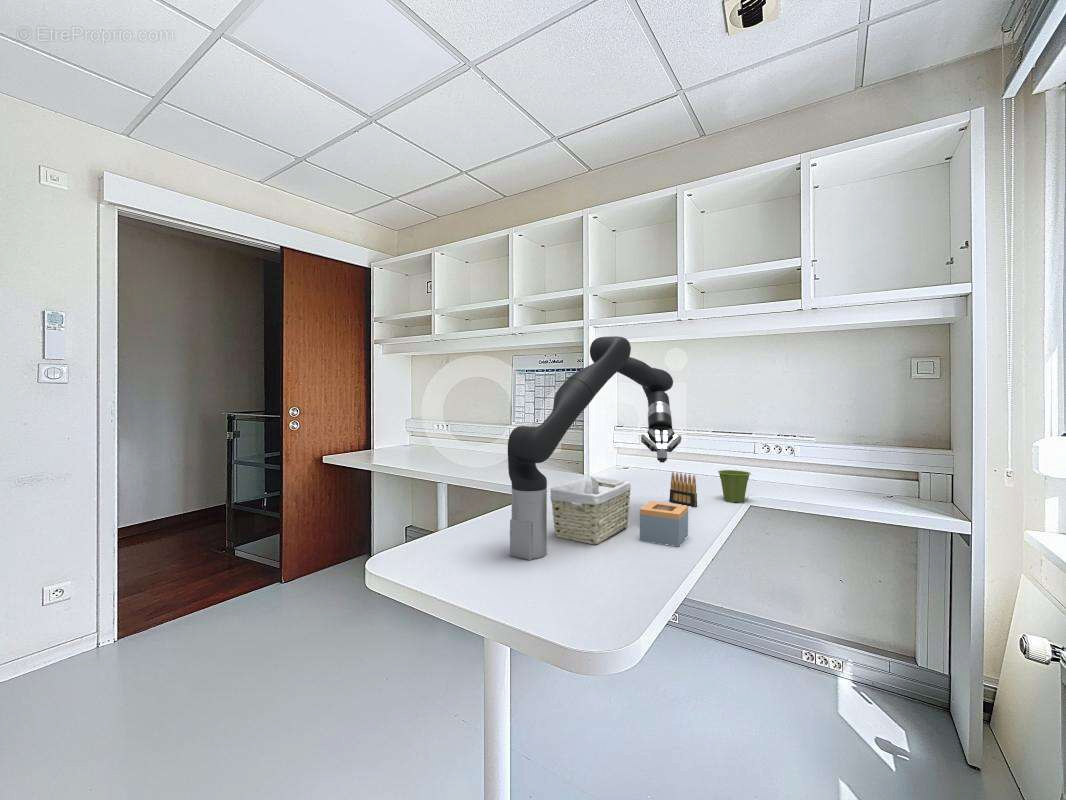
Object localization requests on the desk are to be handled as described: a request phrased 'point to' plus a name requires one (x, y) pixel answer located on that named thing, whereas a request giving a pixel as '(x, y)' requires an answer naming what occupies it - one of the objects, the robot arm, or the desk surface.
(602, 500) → the storage basket
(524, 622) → the desk surface
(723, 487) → the plant pot
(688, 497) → the ammunition clip
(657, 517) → the sleeve
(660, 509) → the peg
